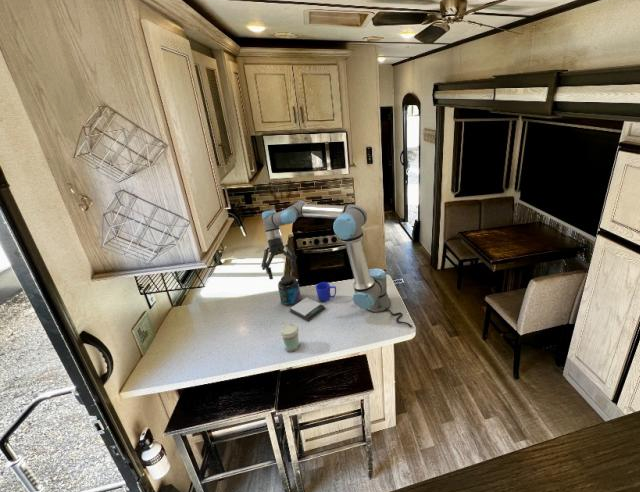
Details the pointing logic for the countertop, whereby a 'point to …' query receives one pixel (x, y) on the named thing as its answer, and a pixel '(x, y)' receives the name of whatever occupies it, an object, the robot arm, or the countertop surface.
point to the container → (289, 290)
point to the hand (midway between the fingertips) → (282, 275)
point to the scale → (307, 309)
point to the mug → (324, 291)
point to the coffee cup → (290, 337)
